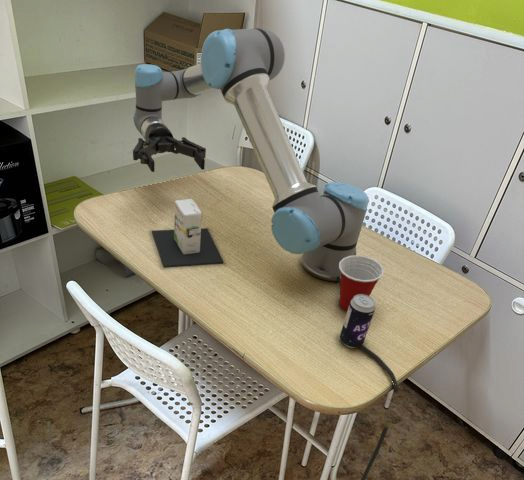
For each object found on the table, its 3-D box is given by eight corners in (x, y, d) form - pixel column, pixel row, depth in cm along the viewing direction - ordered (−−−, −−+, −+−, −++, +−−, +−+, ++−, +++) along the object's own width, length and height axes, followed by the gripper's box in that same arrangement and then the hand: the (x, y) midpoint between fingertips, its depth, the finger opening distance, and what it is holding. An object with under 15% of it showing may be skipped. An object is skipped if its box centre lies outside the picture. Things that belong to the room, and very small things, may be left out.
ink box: (173, 238, 144) (173, 199, 136) (190, 237, 146) (191, 197, 138) (183, 255, 139) (184, 214, 131) (200, 252, 141) (202, 212, 133)
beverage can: (346, 352, 118) (360, 310, 111) (334, 336, 122) (346, 294, 114) (367, 347, 121) (381, 306, 113) (354, 332, 124) (368, 291, 116)
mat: (223, 263, 139) (223, 261, 139) (163, 267, 134) (163, 265, 134) (207, 229, 151) (207, 228, 151) (151, 232, 146) (151, 230, 146)
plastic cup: (321, 297, 133) (331, 256, 126) (355, 291, 138) (367, 251, 130) (342, 322, 127) (355, 282, 119) (378, 315, 131) (393, 275, 123)
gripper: (197, 147, 158) (222, 177, 144) (114, 149, 148) (131, 181, 134) (199, 122, 153) (224, 150, 139) (112, 122, 143) (130, 153, 130)
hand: (178, 165), depth 137 cm, fingers open, 13 cm apart
